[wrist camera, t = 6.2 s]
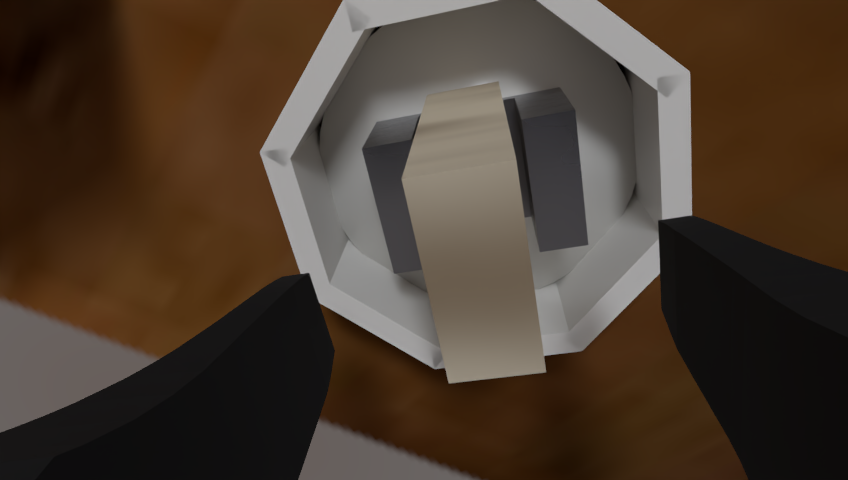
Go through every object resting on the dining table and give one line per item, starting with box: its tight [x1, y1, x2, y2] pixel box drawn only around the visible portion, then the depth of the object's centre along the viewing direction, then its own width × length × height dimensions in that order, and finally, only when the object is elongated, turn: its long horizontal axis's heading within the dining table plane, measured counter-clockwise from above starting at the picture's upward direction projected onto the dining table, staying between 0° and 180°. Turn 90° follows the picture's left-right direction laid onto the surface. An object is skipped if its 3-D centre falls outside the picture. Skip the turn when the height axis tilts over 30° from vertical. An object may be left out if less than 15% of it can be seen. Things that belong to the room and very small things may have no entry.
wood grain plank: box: [402, 81, 546, 383], centre depth 15 cm, size 5×2×8 cm, turn 12°
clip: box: [362, 87, 588, 274], centre depth 18 cm, size 4×6×3 cm
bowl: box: [260, 0, 692, 369], centre depth 18 cm, size 12×12×4 cm
